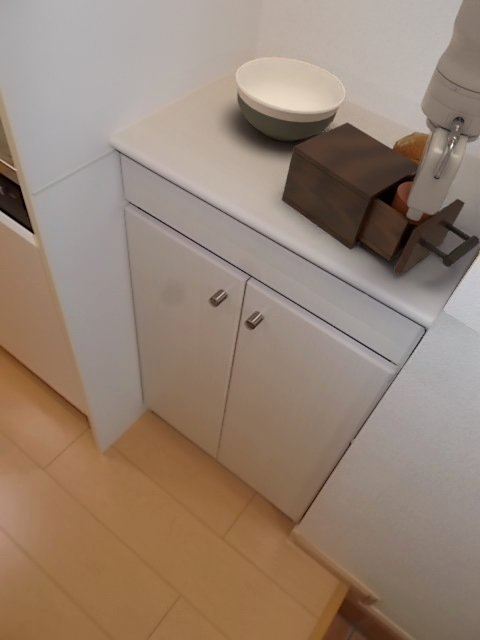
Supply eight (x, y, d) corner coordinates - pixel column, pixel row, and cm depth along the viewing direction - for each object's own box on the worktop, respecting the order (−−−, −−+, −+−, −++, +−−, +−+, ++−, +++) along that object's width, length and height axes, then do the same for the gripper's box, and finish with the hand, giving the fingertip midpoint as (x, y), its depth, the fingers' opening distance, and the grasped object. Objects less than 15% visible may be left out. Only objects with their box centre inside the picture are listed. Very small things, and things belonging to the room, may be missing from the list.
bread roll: (438, 191, 92) (461, 146, 89) (433, 195, 84) (459, 146, 80) (386, 169, 95) (407, 125, 91) (376, 171, 86) (399, 122, 83)
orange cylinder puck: (406, 192, 73) (413, 176, 71) (442, 214, 71) (450, 199, 69) (381, 207, 70) (388, 191, 68) (418, 231, 68) (426, 215, 66)
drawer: (470, 261, 74) (496, 221, 68) (429, 296, 68) (453, 255, 63) (374, 198, 81) (391, 157, 75) (330, 225, 75) (344, 182, 70)
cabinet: (398, 217, 80) (421, 166, 73) (350, 249, 74) (370, 196, 67) (331, 173, 85) (347, 122, 79) (281, 199, 79) (293, 146, 72)
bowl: (293, 94, 101) (303, 51, 95) (354, 145, 92) (369, 101, 86) (210, 110, 93) (214, 64, 87) (267, 168, 84) (276, 120, 78)
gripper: (484, 154, 52) (429, 256, 62) (498, 75, 65) (450, 170, 75) (422, 134, 53) (378, 238, 63) (448, 60, 66) (408, 156, 76)
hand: (417, 201), depth 69 cm, fingers closed on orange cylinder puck, 6 cm apart
